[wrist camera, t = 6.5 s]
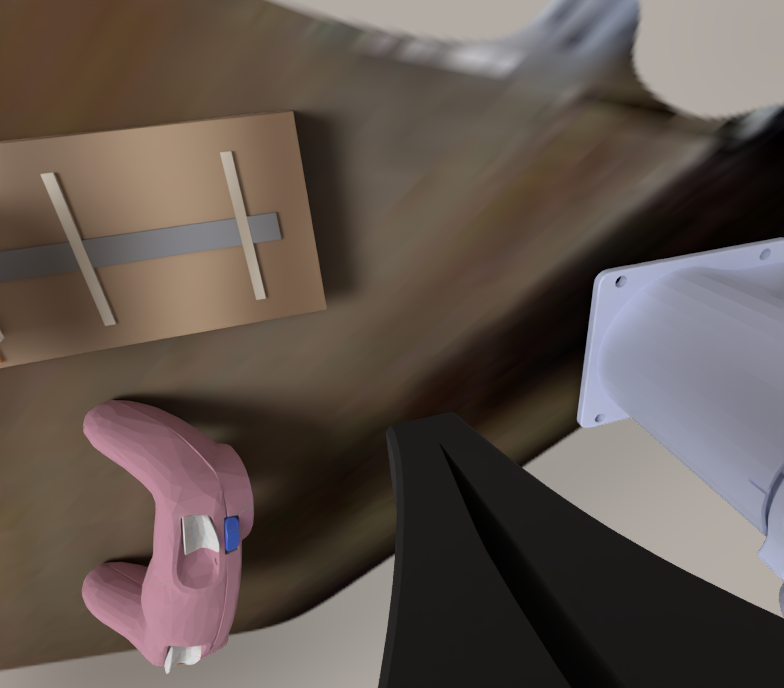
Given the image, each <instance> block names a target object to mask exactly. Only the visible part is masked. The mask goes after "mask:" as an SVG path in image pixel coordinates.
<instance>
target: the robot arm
mask: <svg viewBox="0 0 784 688" xmlns="http://www.w3.org/2000/svg"><path fill="white" fill-rule="evenodd" d="M620 276H621V278H620V281H619V282H618V283H616V284H615V282H616V280H617V279H618V278H619V277H620ZM597 415H598V416H597ZM596 416H597V417H596ZM627 418H632V419H633V420H634V421H636V422H637V423H638V424H639V425H640V426H641V427H642V428H644V429H645V430H646V431H647V432H648V433H649V434H650V435H651V436H653V437H654V438H655V439H656V440H657V441H658V442H659V443H660V444H662V445H663V446H664V447H665V448H666V449H667V450H668V451H670V452H671V453H672V454H673V455H674V456H675V457H676V458H677V459H679V460H680V461H681V462H682V463H683V464H684V465H685V466H687V467H688V468H689V469H690V470H691V471H692V472H693V473H694V474H696V475H697V476H698V477H699V478H700V479H701V480H702V481H703V482H705V483H706V484H707V485H708V486H709V487H710V488H711V489H713V490H714V491H715V492H716V493H717V494H718V495H720V496H721V497H722V498H723V499H724V500H725V501H726V502H727V503H728V504H730V505H731V506H732V507H733V508H734V509H735V510H736V511H737V512H739V513H740V514H741V515H742V516H743V517H744V518H745V519H746V520H748V521H749V522H750V523H751V524H752V525H753V526H754V527H756V528H757V529H758V530H759V531H760V532H761V533H762V534H764V535H765V536H766V540H765V542H764V544H763V546H762V547H761V548H760V550H759V551H758V553H757V556H758V557H759V558H760V559H761V560H762V561H763V562H764V563H765V564H766V565H767V566H768V567H769V568H770V569H771V570H772V571H774V572H775V573H776V574H777V575H778V576H779V577H780V578H781V579H782V580H783V581H784V238H782V237H780V238H775V239H769V240H764V241H759V242H753V243H748V244H742V245H737V246H731V247H726V248H720V249H715V250H709V251H704V252H699V253H693V254H688V255H682V256H677V257H671V258H666V259H660V260H655V261H649V262H644V263H639V264H633V265H628V266H622V267H617V268H611V269H606V270H604V271H602V272H600V273H599V274H598V275H597V277H596V278H595V281H594V287H593V295H592V303H591V311H590V319H589V327H588V335H587V343H586V351H585V359H584V367H583V375H582V382H581V390H580V398H579V406H578V414H577V421H578V423H579V424H580V425H581V426H582V427H584V428H590V427H594V426H598V425H603V424H607V423H610V422H615V421H619V420H623V419H627ZM386 437H387V446H388V454H389V462H390V470H391V479H392V487H393V495H394V501H395V505H396V509H397V526H396V545H395V564H394V575H393V585H392V595H391V604H390V612H389V619H388V627H387V634H386V641H385V647H384V653H383V660H382V666H381V673H380V679H379V685H378V688H784V618H782V617H780V616H778V615H775V614H773V613H771V612H769V611H767V610H765V609H762V608H760V607H758V606H756V605H754V604H752V603H749V602H747V601H745V600H743V599H741V598H739V597H737V596H735V595H733V594H731V593H729V592H727V591H725V590H723V589H721V588H719V587H717V586H715V585H713V584H711V583H709V582H707V581H705V580H703V579H701V578H699V577H697V576H695V575H693V574H691V573H689V572H687V571H685V570H683V569H681V568H679V567H677V566H676V565H674V564H672V563H670V562H668V561H666V560H664V559H662V558H661V557H659V556H657V555H655V554H653V553H652V552H650V551H648V550H646V549H645V548H643V547H641V546H639V545H638V544H636V543H634V542H632V541H631V540H629V539H627V538H626V537H624V536H622V535H621V534H618V533H617V532H615V531H614V530H612V529H610V528H608V527H607V526H606V525H604V524H602V523H601V522H599V521H598V520H596V519H595V518H593V517H591V516H590V515H588V514H587V513H585V512H584V511H582V510H581V509H579V508H578V507H576V506H575V505H573V504H572V503H570V502H569V501H567V500H566V499H564V498H563V497H562V496H560V495H559V494H557V493H556V492H554V491H553V490H552V489H550V488H549V487H547V486H546V485H545V484H543V483H542V482H541V481H539V480H538V479H536V478H535V477H534V476H532V475H531V474H530V473H528V472H527V471H526V470H524V469H523V468H522V467H520V466H519V465H518V464H516V463H515V462H514V461H512V460H511V459H510V458H509V457H507V456H506V455H505V454H504V453H502V452H501V451H500V450H499V449H497V448H496V447H495V446H494V445H492V444H491V443H490V442H489V441H487V440H486V439H485V438H484V437H482V436H481V435H480V434H479V433H478V432H476V431H475V430H474V429H473V428H472V427H470V426H469V425H468V424H467V423H466V422H464V421H463V420H462V419H461V418H460V417H458V416H457V415H456V414H454V413H453V412H449V413H445V414H440V415H436V416H431V417H427V418H422V419H418V420H413V421H409V422H405V423H400V424H396V425H391V426H390V427H389V429H388V430H387V431H386ZM779 603H780V607H781V612H782V614H783V617H784V583H783V584H782V586H781V588H780V592H779Z"/></svg>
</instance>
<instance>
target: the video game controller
mask: <svg viewBox="0 0 784 688" xmlns="http://www.w3.org/2000/svg"><path fill="white" fill-rule="evenodd" d="M83 431H84V433H85V435H86V436H87V438H88V439H89V441H90V442H91V444H92V445H93V446H94V447H95V448H96V449H98V450H99V451H100V452H101V453H103V454H104V455H105V456H107V457H108V458H110V459H111V460H113V461H114V462H116V463H117V464H119V465H120V466H122V467H123V468H125V469H126V470H127V471H128V472H130V473H131V474H132V475H133V476H134V477H136V478H137V479H138V480H139V481H140V482H142V483H143V484H144V486H145V487H146V488H147V489H148V490H149V491H150V492H151V493H152V495H153V497H154V500H155V504H156V515H155V526H154V542H153V556H152V559H151V561H150V564H149V567H145V566H143V565H138V564H132V563H125V562H109V563H105V564H104V563H103V564H101V565H99V566H97V567H96V568H95V569H93V570H92V571H91V572H90V573H89V574H88V575H87V576H86V578H85V580H84V583H83V587H82V595H83V599H84V601H85V604H86V606H87V608H88V609H89V610H90V611H91V613H92V614H93V615H94V616H95V617H96V618H98V619H99V620H100V621H102V622H103V623H104V624H106V625H107V626H109V627H111V628H112V629H114V630H115V631H117V632H118V633H120V634H121V635H123V636H124V637H126V638H127V639H128V640H129V641H130V642H131V643H132V644H133V645H134V646H135V647H136V648H137V649H138V650H139V651H140V652H141V653H142V654H143V655H144V657H145V658H146V659H147V660H148V661H149V662H151V663H152V664H153V665H154V666H165V671H166V673H169V672H170V671H171V670H172V668H173V667H174V666H175V665H180V664H189V665H192V664H195V663H196V662H197V661H199V660H200V659H202V658H204V657H206V656H208V655H210V654H212V653H214V652H215V651H217V650H219V649H221V648H223V647H224V646H225V645H226V644H227V641H228V634H229V631H230V629H231V626H232V622H233V619H234V615H235V611H236V607H237V601H238V595H239V588H240V580H241V566H242V540H243V539H244V538H246V537H247V536H248V534H249V533H250V531H251V529H252V526H253V519H254V502H253V494H252V489H251V484H250V480H249V477H248V474H247V471H246V469H245V466H244V464H243V462H242V460H241V459H240V457H239V456H238V454H237V453H236V452H235V450H234V449H233V448H232V447H231V446H230V445H227V444H224V443H216V442H214V441H213V440H212V439H210V438H209V437H207V436H206V435H205V434H203V433H202V432H200V431H199V430H198V429H196V428H195V427H193V426H191V425H190V424H188V423H187V422H185V421H183V420H182V419H180V418H178V417H176V416H174V415H172V414H170V413H168V412H166V411H163V410H161V409H159V408H156V407H153V406H150V405H146V404H142V403H138V402H133V401H125V400H109V401H107V402H104V403H102V404H100V405H97V406H96V407H94V408H93V409H91V410H90V411H89V412H88V413H87V415H86V416H85V420H84V424H83Z"/></svg>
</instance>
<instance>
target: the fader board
mask: <svg viewBox="0 0 784 688" xmlns="http://www.w3.org/2000/svg"><path fill="white" fill-rule="evenodd" d="M326 309H327V308H326V302H325V296H324V290H323V284H322V278H321V272H320V267H319V261H318V255H317V249H316V243H315V237H314V231H313V226H312V220H311V214H310V208H309V202H308V196H307V190H306V184H305V179H304V173H303V167H302V161H301V155H300V149H299V143H298V138H297V132H296V126H295V120H294V114H293V111H292V110H282V111H272V112H263V113H254V114H245V115H236V116H226V117H217V118H208V119H199V120H190V121H180V122H171V123H162V124H153V125H144V126H134V127H125V128H116V129H107V130H98V131H88V132H79V133H70V134H61V135H52V136H42V137H33V138H24V139H15V140H6V141H0V330H1V332H2V334H3V336H4V339H3V340H2V341H1V342H0V368H3V367H9V366H15V365H20V364H26V363H31V362H37V361H42V360H48V359H54V358H59V357H65V356H70V355H76V354H81V353H87V352H92V351H98V350H104V349H109V348H115V347H120V346H126V345H131V344H137V343H143V342H148V341H154V340H159V339H165V338H170V337H176V336H182V335H187V334H193V333H198V332H204V331H209V330H215V329H221V328H226V327H232V326H237V325H243V324H248V323H254V322H260V321H265V320H271V319H276V318H282V317H287V316H293V315H299V314H304V313H310V312H315V311H321V310H326Z"/></svg>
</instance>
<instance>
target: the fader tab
mask: <svg viewBox="0 0 784 688" xmlns="http://www.w3.org/2000/svg"><path fill="white" fill-rule="evenodd" d="M3 339H4V336H3V334H2V332H1V330H0V342H1V341H2V340H3Z"/></svg>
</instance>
